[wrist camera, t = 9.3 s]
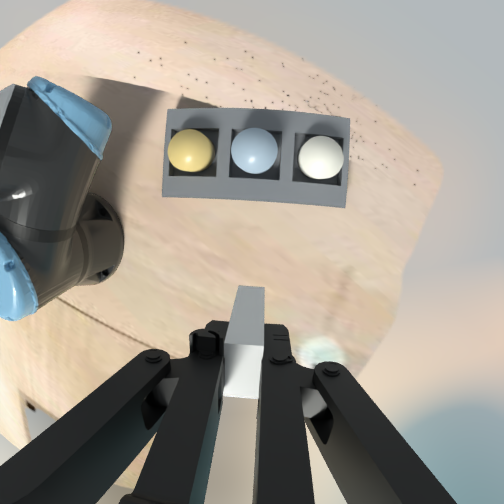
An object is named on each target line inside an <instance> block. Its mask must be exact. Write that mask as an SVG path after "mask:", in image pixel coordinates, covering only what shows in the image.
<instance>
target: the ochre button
mask: <svg viewBox="0 0 504 504" xmlns="http://www.w3.org/2000/svg"><path fill="white" fill-rule="evenodd" d="M168 157H169V160H170V162H171V163H172V164H173V165H174V166H175V167H176V168H178V169H180V170H183V171H189V172H201V171H203V170H205V169H207V168H208V167H209V166H210V165H211V164H212V162H213V160H214V158H215V147H214V145H213V143H212V141H211V140H210V139H209V138H207V137H206V136H205V135H204V134H202V133H201V132H199V131H197V130H194V129H186V130H182V131H180V132H178V133H177V134H176V135H174V137H173V138H172V139H171V141H170V143H169V146H168Z"/></svg>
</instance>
